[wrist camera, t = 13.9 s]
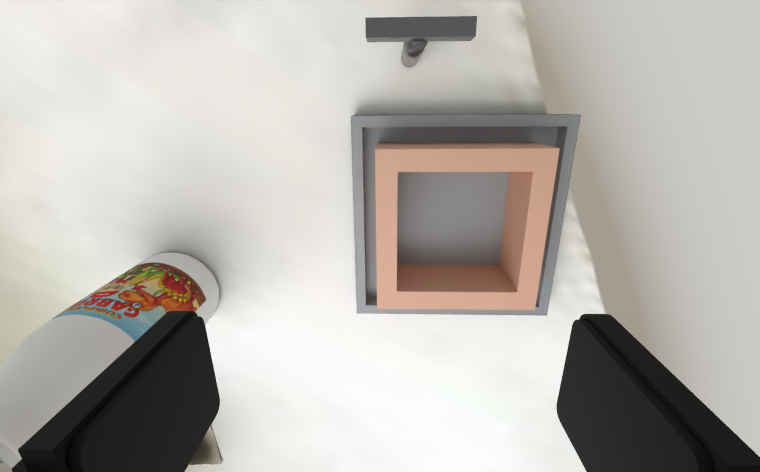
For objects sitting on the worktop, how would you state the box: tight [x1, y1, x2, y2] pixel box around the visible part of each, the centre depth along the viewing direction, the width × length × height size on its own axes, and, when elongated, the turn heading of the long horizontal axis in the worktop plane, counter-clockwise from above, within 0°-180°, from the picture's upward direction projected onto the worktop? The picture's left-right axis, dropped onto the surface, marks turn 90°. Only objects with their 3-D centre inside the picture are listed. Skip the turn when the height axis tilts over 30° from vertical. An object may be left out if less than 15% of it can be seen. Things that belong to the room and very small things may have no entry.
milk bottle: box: [0, 252, 219, 468], centre depth 25 cm, size 8×8×20 cm
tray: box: [351, 114, 581, 315], centre depth 30 cm, size 17×17×2 cm
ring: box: [375, 142, 560, 310], centre depth 28 cm, size 12×12×5 cm
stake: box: [366, 16, 477, 67], centre depth 22 cm, size 1×5×11 cm, turn 90°
